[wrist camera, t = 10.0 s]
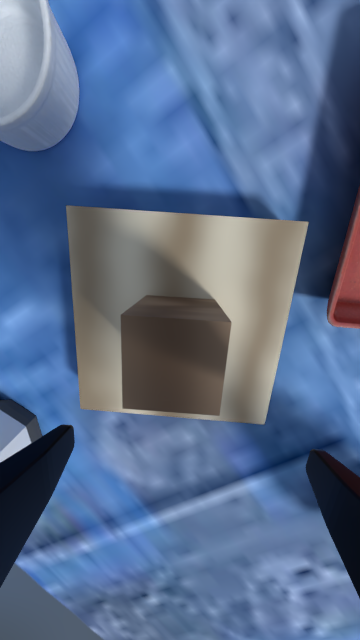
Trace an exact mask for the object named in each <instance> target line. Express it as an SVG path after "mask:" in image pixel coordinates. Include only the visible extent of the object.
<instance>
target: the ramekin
mask: <svg viewBox="0 0 360 640" xmlns="http://www.w3.org/2000/svg"><path fill="white" fill-rule="evenodd" d="M78 105H79V80H78V75H77V70H76V66H75V63H74V60H73V57H72V54H71V51H70V49H69V47H68V44H67V42H66V40H65V38H64V36H63V34H62V32H61V30H60V28H59V25H58V23H57V21H56V19H55V17H54V15H53V13H52V11H51V8H50V6H49V3H48V0H0V141H2V142H4V143H6V144H8V145H10V146H12V147H15V148H18V149H21V150H26V151H41V150H45V149H48V148H50V147H52V146H54V145H56V144H57V143H58V142H60V141H61V140H62V139H63V138H64V137H65V136H66V135H67V133H68V132H69V130H70V129H71V127H72V125H73V123H74V121H75V118H76V114H77V111H78Z"/></svg>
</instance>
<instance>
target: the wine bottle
mask: <svg viewBox="0 0 360 640" xmlns="http://www.w3.org/2000/svg"><path fill="white" fill-rule="evenodd" d="M41 437H42V434H41V431H40V427H39V424H38V421H37V418H36V416H35V415H34V414H32V413H31V412H29V411H28V410H26V409H25V408H23V407H22V406H20V405H19V404H17V403H16V402H14V401H13V400H0V462H2V461H4V460H5V459H7V458H8V457H10V456H12V455H13V454H15V453H16V452H18V451H20V450H21V449H23V448H24V447H26V446H28V445H29V444H31V443H32V442H34V441H36V440H37V439H39V438H41Z"/></svg>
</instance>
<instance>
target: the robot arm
mask: <svg viewBox="0 0 360 640" xmlns="http://www.w3.org/2000/svg"><path fill="white" fill-rule="evenodd" d="M73 448H74V429H73V426H71V425H60V426H58V427H57V428H55V429H53V430H52V431H50V432H49V433H47V434H45V435H44V436H42V437H41V438H39V439H37V440H36V441H34V442H32V443H31V444H29V445H28V446H26V447H24V448H23V449H21V450H20V451H18V452H16V453H15V454H13V455H12V456H10V457H8V458H7V459H5V460H4V461H2V462H0V587H1V586H2V584H3V582H4V580H5V578H6V576H7V575H8V573H9V571H10V569H11V568H12V566H13V564H14V562H15V561H16V559H17V557H18V555H19V553H20V552H21V550H22V548H23V546H24V545H25V543H26V541H27V539H28V537H29V536H30V534H31V532H32V530H33V529H34V527H35V525H36V523H37V521H38V520H39V518H40V516H41V514H42V512H43V511H44V509H45V507H46V505H47V504H48V502H49V500H50V498H51V496H52V494H53V492H54V490H55V488H56V486H57V483H58V481H59V479H60V477H61V475H62V472H63V470H64V468H65V466H66V464H67V461H68V459H69V457H70V455H71V453H72V451H73ZM306 472H307V475H308V478H309V481H310V483H311V486H312V489H313V491H314V494H315V497H316V499H317V502H318V505H319V508H320V510H321V513H322V516H323V518H324V521H325V523H326V526H327V528H328V530H329V533H330V535H331V537H332V539H333V541H334V544H335V546H336V548H337V550H338V552H339V554H340V557H341V559H342V561H343V563H344V565H345V568H346V570H347V572H348V574H349V576H350V578H351V581H352V583H353V585H354V587H355V589H356V591H357V594H358V596H359V598H360V477H359V476H357V475H356V474H355V473H353V472H352V471H351V470H349V469H348V468H347V467H345V466H344V465H343V464H342V463H340V462H339V461H338V460H336V459H335V458H334V457H332V456H331V455H330V454H328V453H327V452H326V451H324V450H319V449H312V450H311V451H310V454H309V457H308V460H307V464H306Z"/></svg>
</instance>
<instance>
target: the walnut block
mask: <svg viewBox="0 0 360 640" xmlns="http://www.w3.org/2000/svg"><path fill="white" fill-rule="evenodd" d="M231 324H232V322H231V321H230V319H229V318H228V316H227V315H226V314H225V312H224V311H223V310H222V308H221V307H220V306H219V304H218V303H217V302H216V300H215V299H201V298H185V297H169V296H154V295H146V296H145V297H143V298H142V299H141V300H139V301H138V302H137V303H135V304H134V305H133V306H132V307H130V308H129V309H128V310H126V311H125V312H124V313H122V314H121V360H122V409H134V410H147V411H161V412H174V413H187V414H200V415H214V416H220V408H221V400H222V393H223V385H224V377H225V370H226V362H227V354H228V347H229V339H230V331H231Z"/></svg>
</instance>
